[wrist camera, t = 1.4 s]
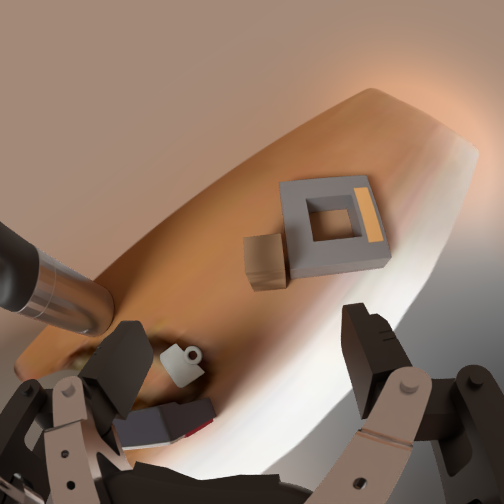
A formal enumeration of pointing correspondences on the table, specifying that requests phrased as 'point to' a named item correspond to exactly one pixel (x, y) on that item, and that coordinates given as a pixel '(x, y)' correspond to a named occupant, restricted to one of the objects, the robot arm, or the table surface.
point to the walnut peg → (264, 262)
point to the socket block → (339, 250)
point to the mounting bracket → (182, 364)
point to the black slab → (163, 424)
